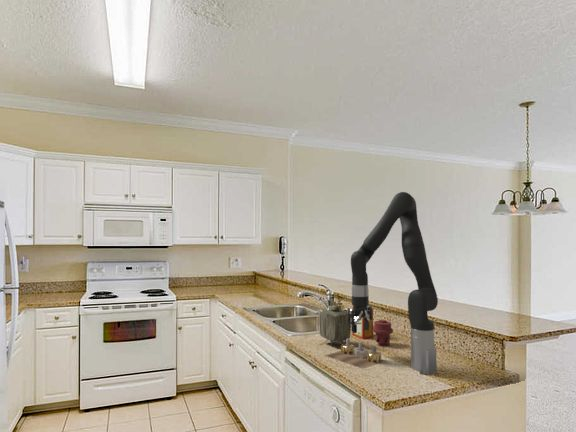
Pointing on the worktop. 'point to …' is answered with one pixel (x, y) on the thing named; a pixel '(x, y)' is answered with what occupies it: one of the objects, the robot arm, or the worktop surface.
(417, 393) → the worktop surface
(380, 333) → the mechanical component
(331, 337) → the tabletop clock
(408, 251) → the robot arm
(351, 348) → the gear
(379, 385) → the worktop surface
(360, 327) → the baking soda box
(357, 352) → the steel gear
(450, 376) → the worktop surface
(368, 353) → the gear
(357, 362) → the gear board
